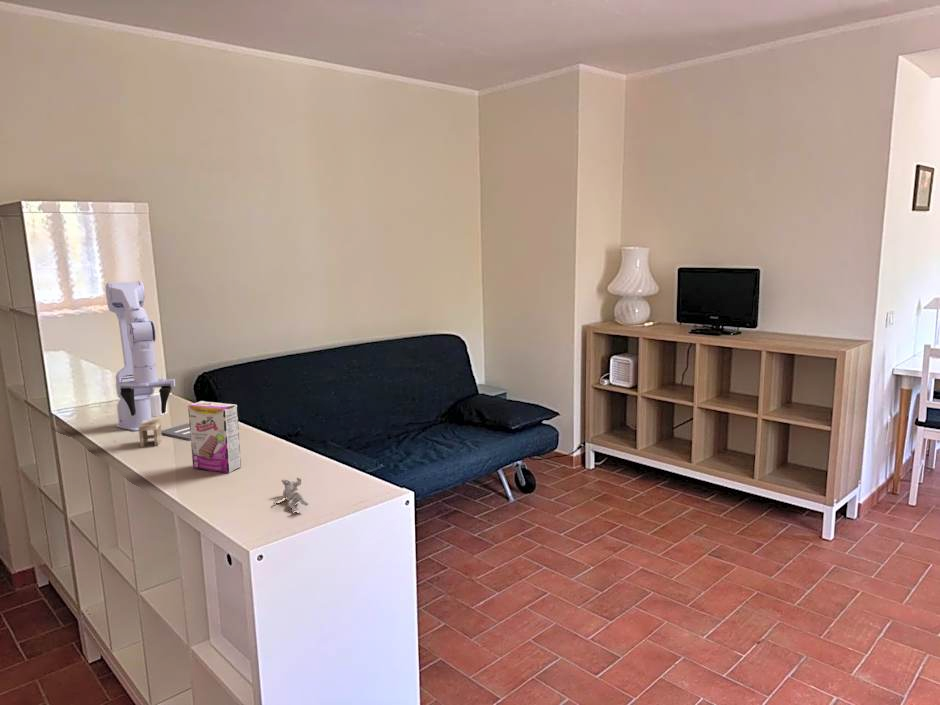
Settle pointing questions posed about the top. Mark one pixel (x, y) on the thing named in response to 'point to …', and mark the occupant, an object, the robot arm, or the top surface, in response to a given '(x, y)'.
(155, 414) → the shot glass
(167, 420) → the top surface
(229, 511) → the top surface
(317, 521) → the top surface
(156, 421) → the two-pronged tan block
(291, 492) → the grey creature figurine
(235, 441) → the candy bar box
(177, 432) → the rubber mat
